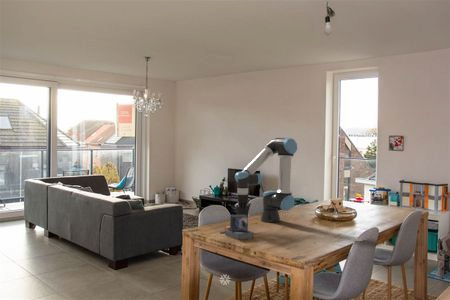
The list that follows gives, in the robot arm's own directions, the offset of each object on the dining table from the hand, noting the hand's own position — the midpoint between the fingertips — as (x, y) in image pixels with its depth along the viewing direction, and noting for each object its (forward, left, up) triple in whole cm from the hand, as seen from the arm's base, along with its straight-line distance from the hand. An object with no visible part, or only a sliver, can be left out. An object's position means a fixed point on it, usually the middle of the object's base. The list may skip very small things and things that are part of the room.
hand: (242, 227), depth 270 cm
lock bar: (+8, 0, -2) cm, 8 cm away
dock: (+11, +8, -2) cm, 13 cm away
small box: (+11, +10, +1) cm, 15 cm away
